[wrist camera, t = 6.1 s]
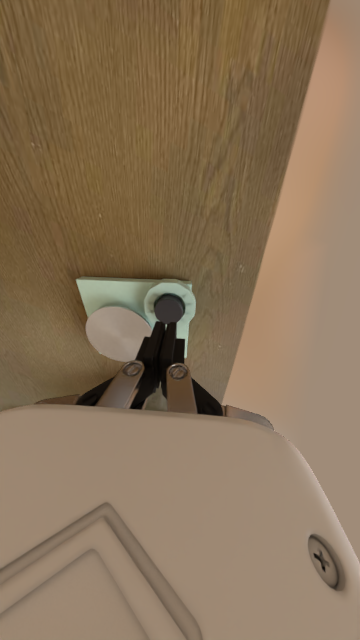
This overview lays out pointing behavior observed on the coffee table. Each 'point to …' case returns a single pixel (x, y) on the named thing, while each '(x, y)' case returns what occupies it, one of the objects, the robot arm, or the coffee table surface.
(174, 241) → the coffee table surface
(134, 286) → the scale
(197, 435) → the robot arm
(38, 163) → the coffee table surface
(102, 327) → the plate
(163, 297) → the button
